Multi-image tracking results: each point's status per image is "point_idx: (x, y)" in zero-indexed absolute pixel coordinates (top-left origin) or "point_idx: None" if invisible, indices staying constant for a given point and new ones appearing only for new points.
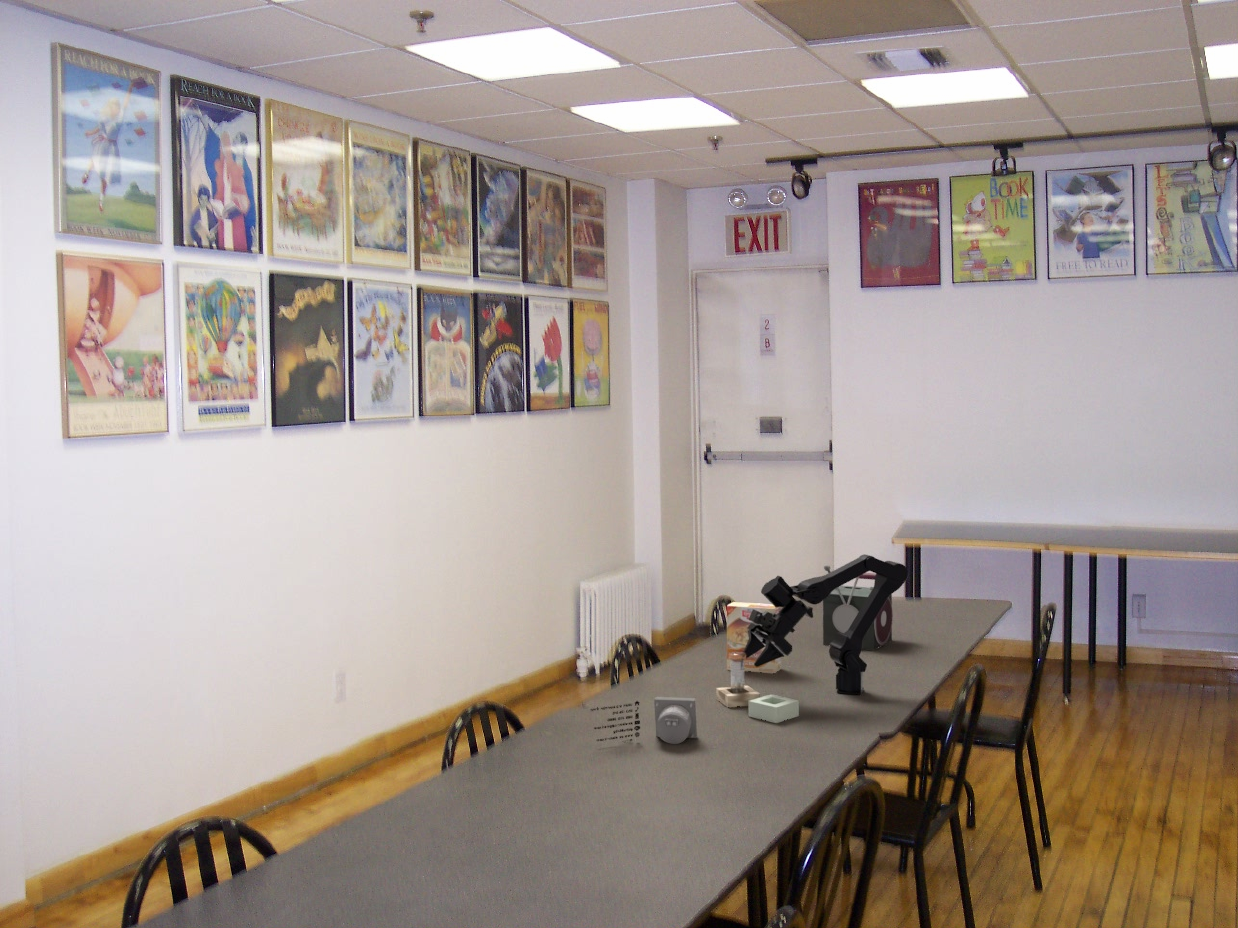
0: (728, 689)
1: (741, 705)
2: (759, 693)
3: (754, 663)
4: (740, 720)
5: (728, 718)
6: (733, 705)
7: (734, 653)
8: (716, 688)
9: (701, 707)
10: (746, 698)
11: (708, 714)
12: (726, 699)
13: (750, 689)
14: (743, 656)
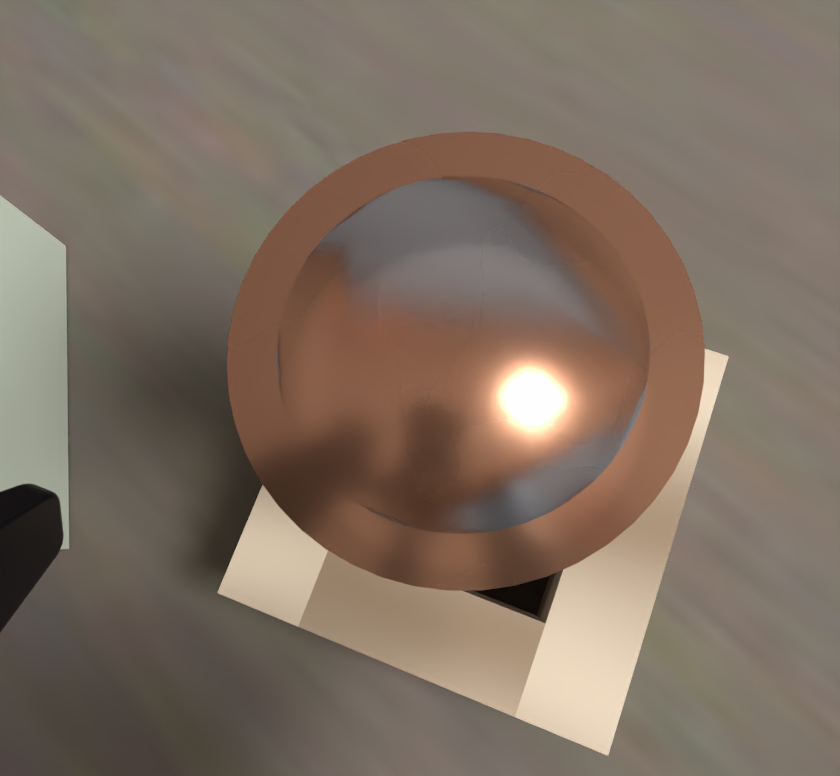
0: None
1: None
2: (221, 588)
3: (36, 496)
4: (38, 129)
5: (141, 93)
6: None
7: (536, 308)
8: (712, 352)
9: (534, 114)
10: None
11: (330, 41)
12: None
13: (421, 635)
14: (236, 366)
